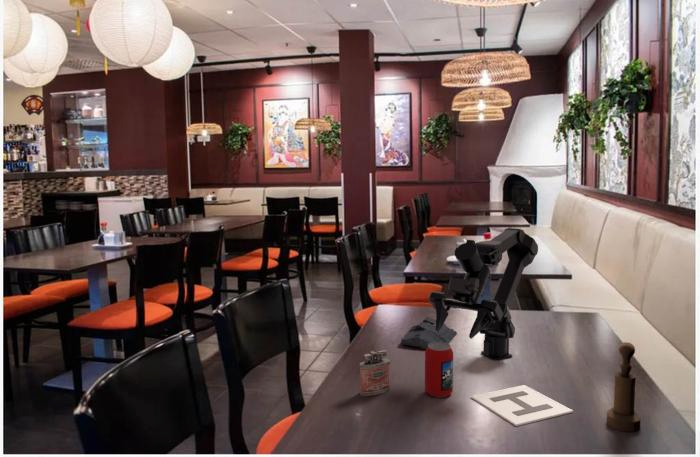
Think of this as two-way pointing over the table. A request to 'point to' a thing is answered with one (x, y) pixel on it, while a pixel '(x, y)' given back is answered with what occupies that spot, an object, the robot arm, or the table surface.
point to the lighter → (374, 373)
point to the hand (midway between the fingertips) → (453, 334)
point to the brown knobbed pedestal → (624, 395)
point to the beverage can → (439, 369)
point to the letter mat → (521, 405)
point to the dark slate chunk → (427, 334)
